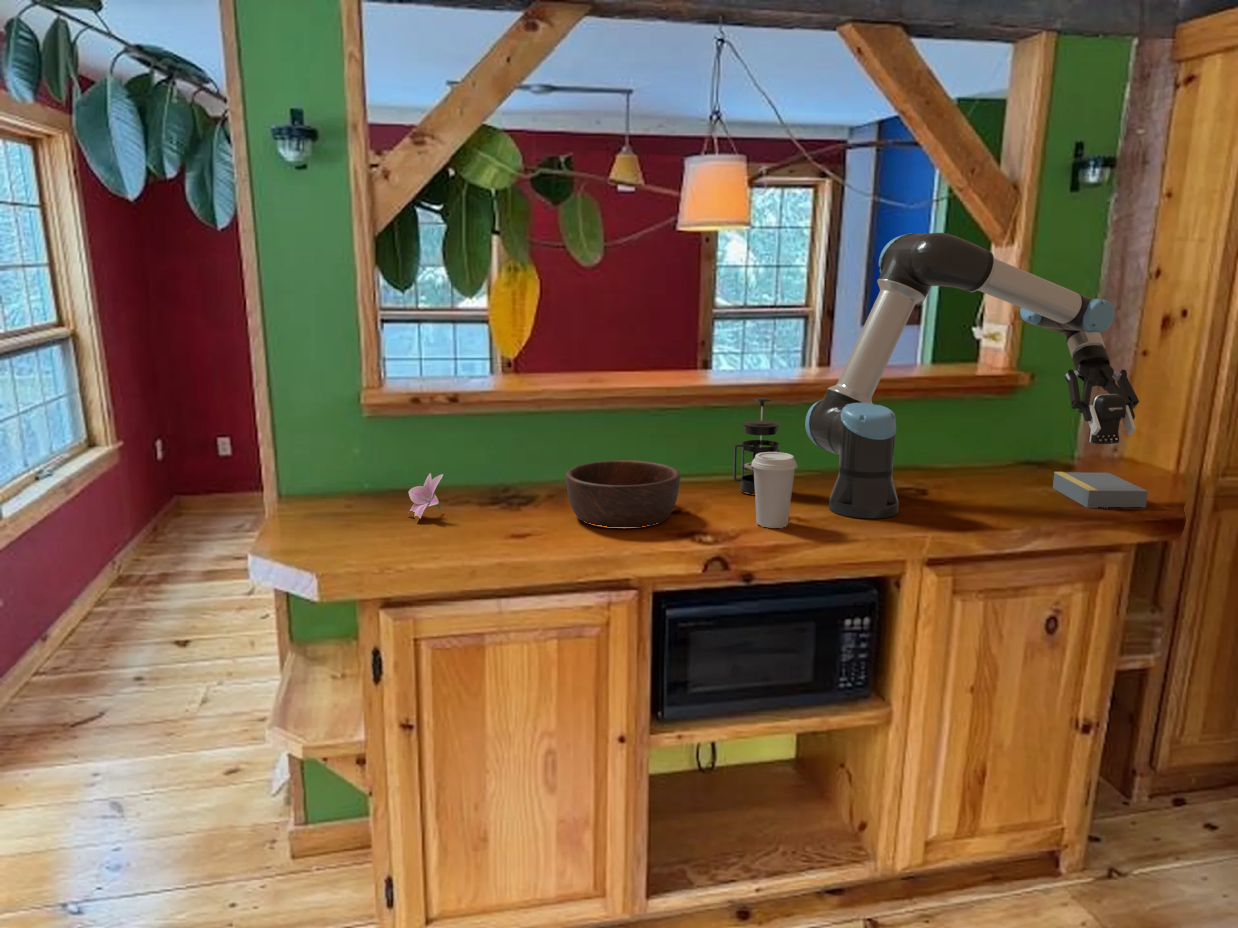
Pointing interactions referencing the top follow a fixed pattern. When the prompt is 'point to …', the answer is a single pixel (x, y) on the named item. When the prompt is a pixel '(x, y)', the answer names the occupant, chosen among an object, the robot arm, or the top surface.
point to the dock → (1099, 490)
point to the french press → (755, 446)
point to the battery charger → (1108, 418)
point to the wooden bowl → (623, 492)
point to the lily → (424, 495)
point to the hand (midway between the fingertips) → (1114, 431)
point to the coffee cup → (773, 487)
